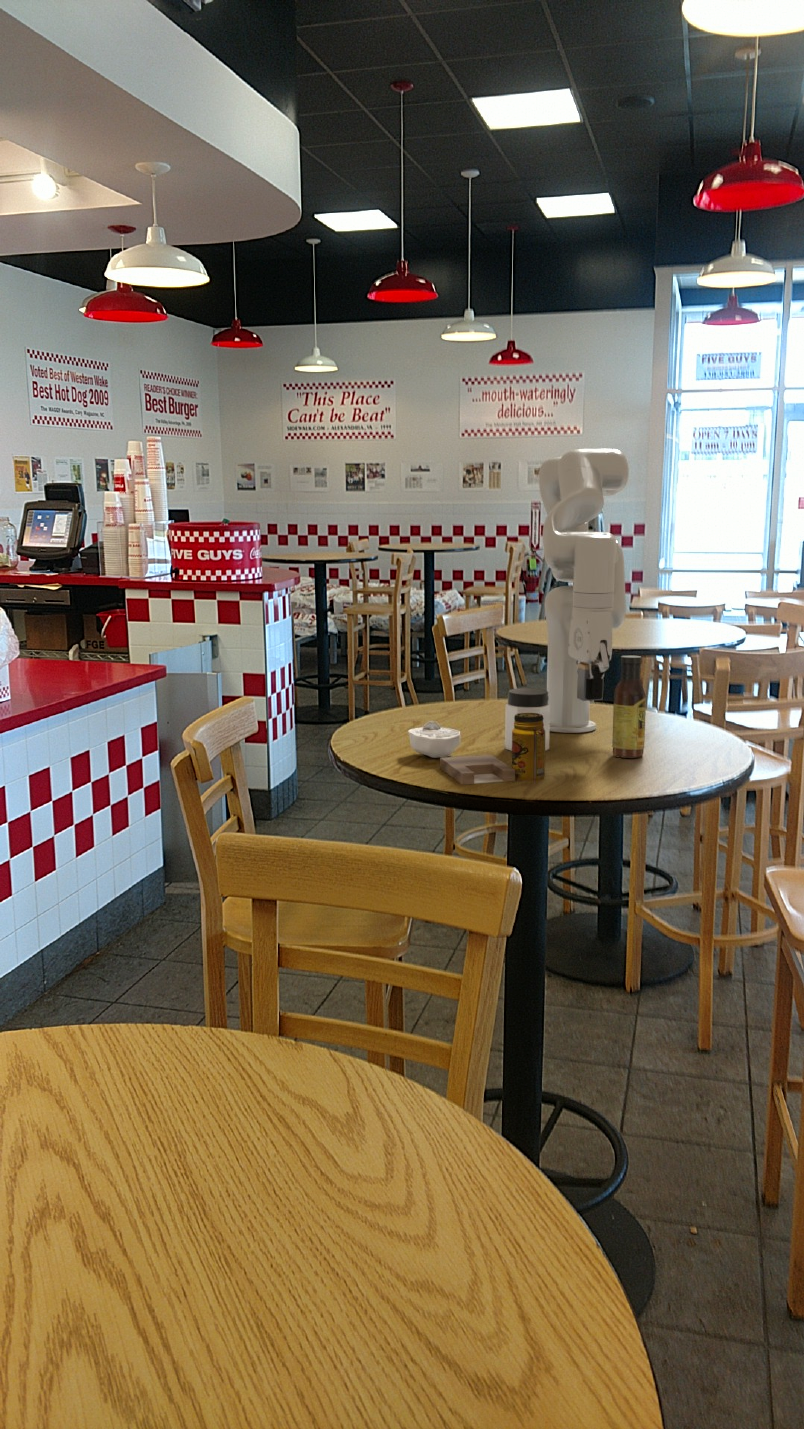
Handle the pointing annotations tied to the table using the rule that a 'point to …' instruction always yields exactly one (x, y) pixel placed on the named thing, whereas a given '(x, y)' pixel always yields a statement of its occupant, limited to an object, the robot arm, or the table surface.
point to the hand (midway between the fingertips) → (589, 696)
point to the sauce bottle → (629, 710)
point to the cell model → (434, 740)
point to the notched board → (477, 769)
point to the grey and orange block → (583, 682)
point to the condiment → (528, 747)
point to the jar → (526, 710)
